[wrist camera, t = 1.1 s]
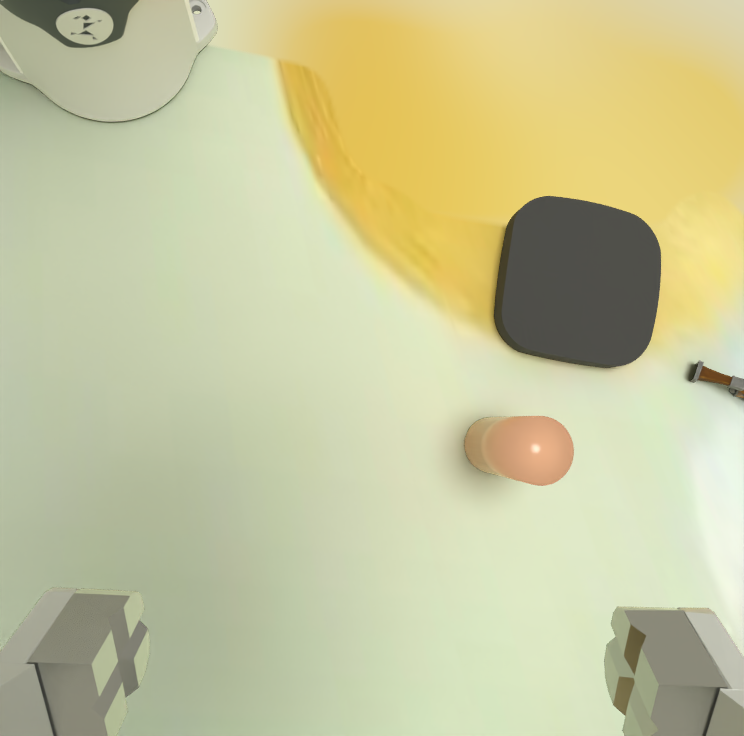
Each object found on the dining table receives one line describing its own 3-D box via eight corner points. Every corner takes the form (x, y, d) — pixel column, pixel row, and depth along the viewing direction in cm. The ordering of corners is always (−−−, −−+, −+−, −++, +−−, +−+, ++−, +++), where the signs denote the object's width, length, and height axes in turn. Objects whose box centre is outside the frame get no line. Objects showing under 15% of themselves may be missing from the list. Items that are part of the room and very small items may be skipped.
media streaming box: (486, 348, 56) (497, 344, 53) (508, 197, 58) (519, 184, 55) (633, 375, 58) (652, 372, 55) (650, 227, 60) (669, 217, 57)
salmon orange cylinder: (457, 425, 55) (499, 427, 44) (508, 410, 56) (562, 407, 45) (473, 479, 55) (519, 494, 44) (524, 463, 55) (581, 474, 45)
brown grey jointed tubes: (771, 415, 58) (790, 406, 54) (683, 387, 61) (694, 377, 57) (777, 397, 59) (796, 387, 54) (688, 371, 61) (700, 359, 57)
